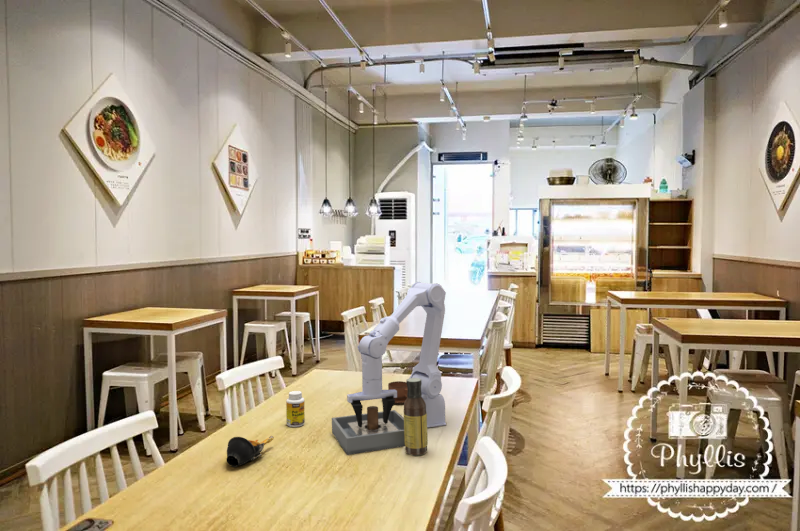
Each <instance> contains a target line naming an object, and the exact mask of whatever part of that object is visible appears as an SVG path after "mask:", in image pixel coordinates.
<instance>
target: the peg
mask: <svg viewBox="0 0 800 531" xmlns="http://www.w3.org/2000/svg"><path fill="white" fill-rule="evenodd" d="M378 412H379V407H378V406H376V405H369V406H367V407H366V414H367V429H371V430H374V429H378Z"/></svg>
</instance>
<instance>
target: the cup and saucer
mask: <svg viewBox="0 0 800 531" xmlns="http://www.w3.org/2000/svg"><path fill="white" fill-rule="evenodd" d="M387 386H388V389H387V390H393V389H395V390H396V391H397V398H394V399H395V403H394V404H404V403H405V401H406V399H407V396H408V395H407V393H408V391H407V383H406V381H398V380H397V381H391V382H389V383H388V385H387Z"/></svg>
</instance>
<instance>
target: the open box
mask: <svg viewBox="0 0 800 531" xmlns="http://www.w3.org/2000/svg"><path fill="white" fill-rule="evenodd" d="M380 418H383V411H378V419H380ZM364 420H367V413H362V421H364ZM388 420H389V421H390V422H391V423H392V424H393V425H394V426H395V427H396V428H397V429H398V430H397V431H390V432H383V433H375V434H368V435H361V436H354V437H352V436H351V435H350V434H349V432H348V431H347V423H348V422H356V421H357V418H356V414H352V415H343V416H338V417H337V416H335V417H331V434H332V435H333V436H334V438H335V440H336V441H337V442H338V444H339V446H340V447H341V448H342V450H343V451H344V453H345V454H346V456H352V455H357V454H364V453H371V452H377V451H378V452H379V451H383V450H390V449H397V448H405V437H404V416H402V414H400V413H399V412H398V411H397V410H395V409H393V410H392V409H391V411H390V414H389V418H388Z"/></svg>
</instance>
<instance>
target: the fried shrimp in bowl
mask: <svg viewBox="0 0 800 531" xmlns="http://www.w3.org/2000/svg"><path fill="white" fill-rule="evenodd" d="M273 440H274V436H272V435H270V436H269V437H267V438H266V439H264V440H262V441H260V442H259V439H255V440H251V439H250V440H249V439H247V438H245V437H242V436H234V437H231V439H229V440H228V442H227V446H226V447H227V448H226V463H227V464H228V466H230V467H231V468H237V467H239V466H242V465H245V464H247V463H249V462H250V461H255V460H256V459H258V458H260V457H261V456H262V451H264V447H265V445H267V444H269V443H271V442H272V441H273Z"/></svg>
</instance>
